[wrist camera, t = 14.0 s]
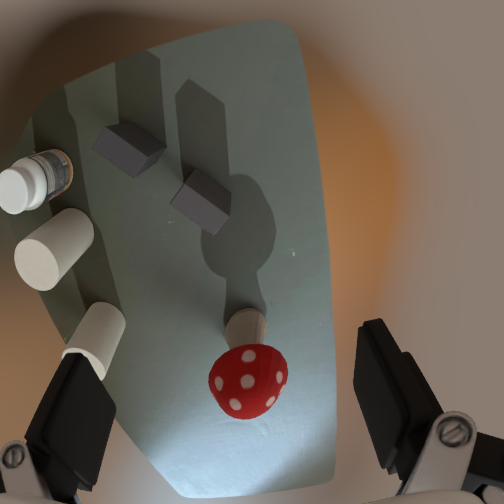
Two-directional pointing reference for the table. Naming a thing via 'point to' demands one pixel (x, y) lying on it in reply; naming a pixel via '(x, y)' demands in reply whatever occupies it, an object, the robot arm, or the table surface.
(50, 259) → the white cylinder
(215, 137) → the table surface
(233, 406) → the decorative mushroom
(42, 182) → the pill bottle
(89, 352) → the white cylinder
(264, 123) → the table surface
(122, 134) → the dark grey block
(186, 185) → the dark grey rectangular block
